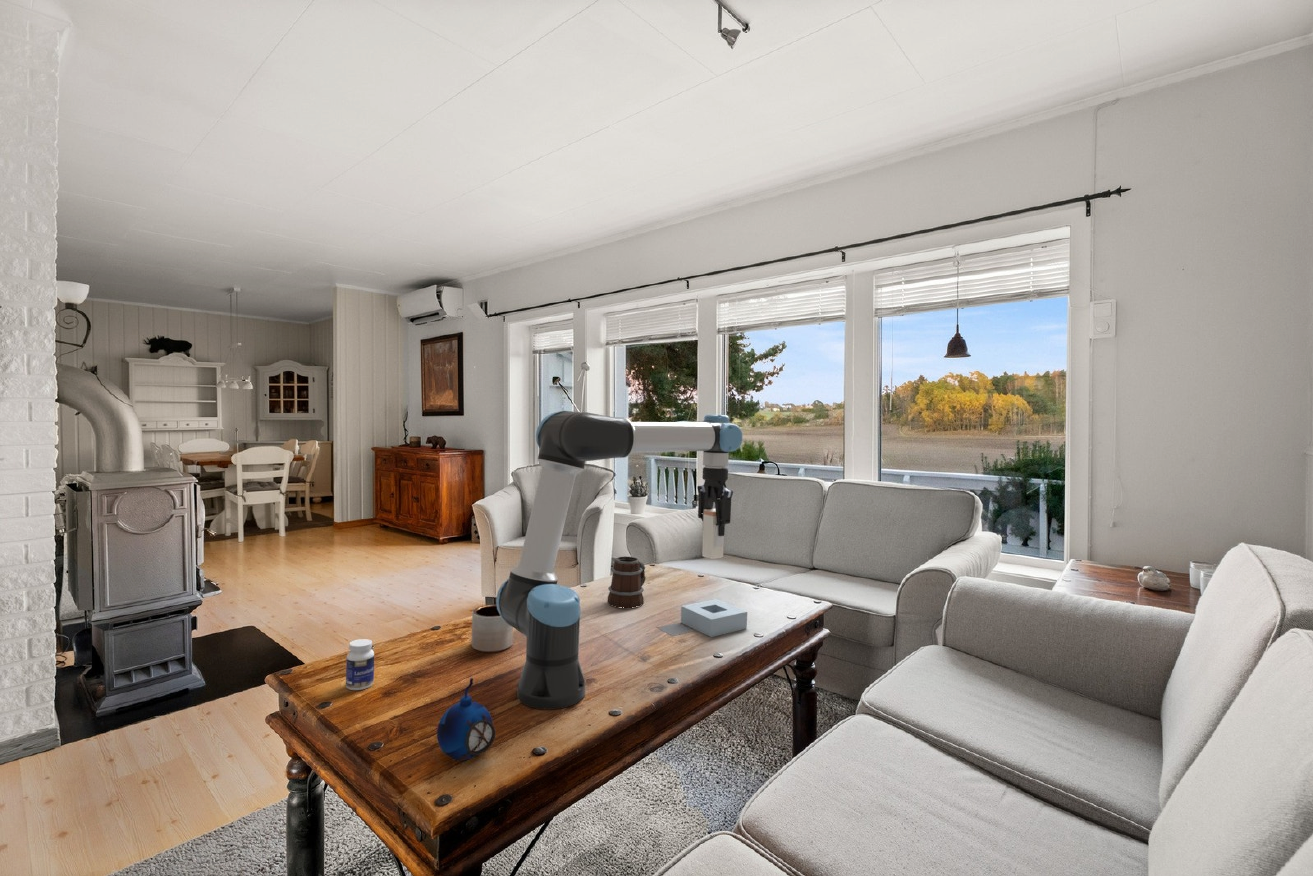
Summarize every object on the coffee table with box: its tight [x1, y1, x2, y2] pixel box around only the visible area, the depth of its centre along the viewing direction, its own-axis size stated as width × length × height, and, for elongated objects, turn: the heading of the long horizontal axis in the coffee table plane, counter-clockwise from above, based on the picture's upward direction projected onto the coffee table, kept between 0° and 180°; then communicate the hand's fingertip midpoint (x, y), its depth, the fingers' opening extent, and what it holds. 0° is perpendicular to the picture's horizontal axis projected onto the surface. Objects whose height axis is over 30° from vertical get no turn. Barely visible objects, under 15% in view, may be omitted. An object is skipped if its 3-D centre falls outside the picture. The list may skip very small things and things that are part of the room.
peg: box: [701, 508, 725, 560], centre depth 184 cm, size 4×4×14 cm
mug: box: [607, 556, 647, 609], centre depth 208 cm, size 16×12×15 cm
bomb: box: [436, 677, 497, 761], centre depth 113 cm, size 10×11×15 cm
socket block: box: [680, 598, 748, 638], centre depth 185 cm, size 14×14×6 cm
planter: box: [470, 604, 514, 653], centre depth 166 cm, size 11×11×10 cm
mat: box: [656, 622, 695, 637], centre depth 181 cm, size 8×8×1 cm
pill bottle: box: [345, 638, 375, 691], centre depth 140 cm, size 6×6×10 cm
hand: (713, 544), depth 184 cm, fingers closed on peg, 4 cm apart
